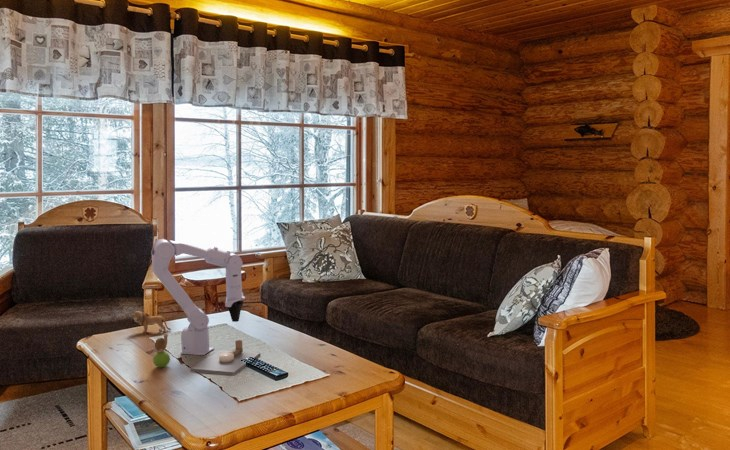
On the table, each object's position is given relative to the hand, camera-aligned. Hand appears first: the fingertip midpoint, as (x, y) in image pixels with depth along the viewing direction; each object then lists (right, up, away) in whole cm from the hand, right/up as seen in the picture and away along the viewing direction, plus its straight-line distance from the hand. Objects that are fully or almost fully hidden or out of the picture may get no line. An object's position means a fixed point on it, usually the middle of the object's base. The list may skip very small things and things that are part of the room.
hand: (235, 321), depth 232 cm
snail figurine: (-21, -13, -20) cm, 31 cm away
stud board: (+1, -12, -18) cm, 21 cm away
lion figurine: (-39, -8, +22) cm, 45 cm away
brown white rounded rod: (+2, -10, -15) cm, 18 cm away
